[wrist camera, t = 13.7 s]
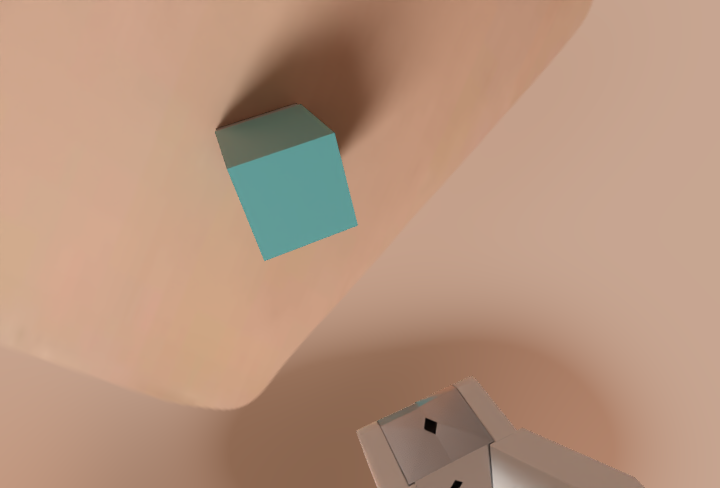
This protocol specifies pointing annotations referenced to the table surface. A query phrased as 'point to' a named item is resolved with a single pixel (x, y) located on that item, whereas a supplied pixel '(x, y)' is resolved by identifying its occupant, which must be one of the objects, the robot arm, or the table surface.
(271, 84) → the table surface
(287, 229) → the teal rectangular block
